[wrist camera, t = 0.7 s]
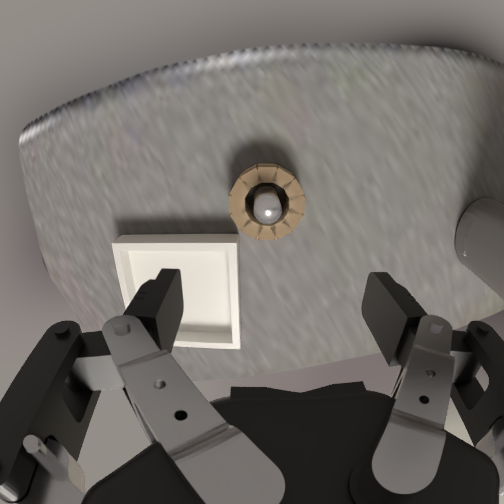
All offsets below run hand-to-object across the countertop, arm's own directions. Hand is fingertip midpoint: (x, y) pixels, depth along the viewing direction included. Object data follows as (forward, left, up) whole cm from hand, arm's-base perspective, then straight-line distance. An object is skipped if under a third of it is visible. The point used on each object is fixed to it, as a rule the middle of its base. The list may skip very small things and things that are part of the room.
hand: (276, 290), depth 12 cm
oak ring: (0, 0, -17) cm, 17 cm away
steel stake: (0, 0, -17) cm, 17 cm away
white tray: (+9, +10, -17) cm, 22 cm away
